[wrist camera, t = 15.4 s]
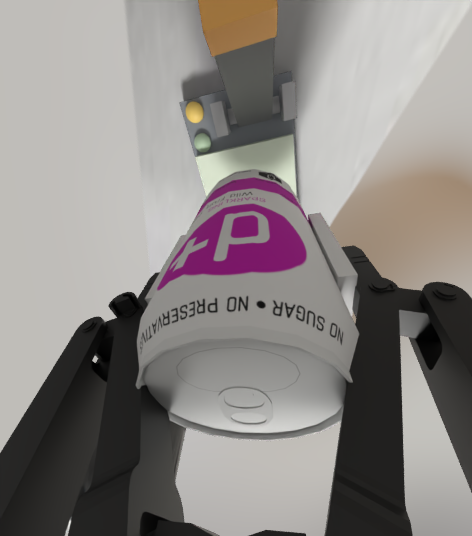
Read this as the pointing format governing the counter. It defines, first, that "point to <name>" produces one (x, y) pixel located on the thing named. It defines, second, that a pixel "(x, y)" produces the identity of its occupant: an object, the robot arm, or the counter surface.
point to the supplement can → (248, 320)
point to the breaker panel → (243, 137)
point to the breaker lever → (244, 54)
